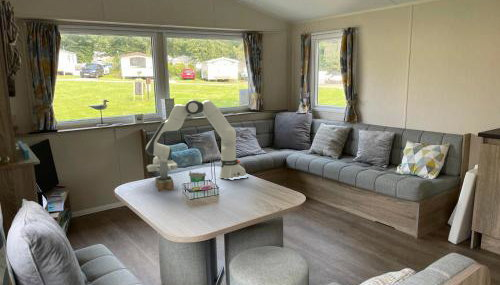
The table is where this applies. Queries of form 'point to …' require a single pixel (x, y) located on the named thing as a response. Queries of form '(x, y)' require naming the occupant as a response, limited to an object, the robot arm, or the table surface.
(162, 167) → the slate grey canister
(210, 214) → the table surface
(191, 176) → the food container
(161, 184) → the walnut holder
